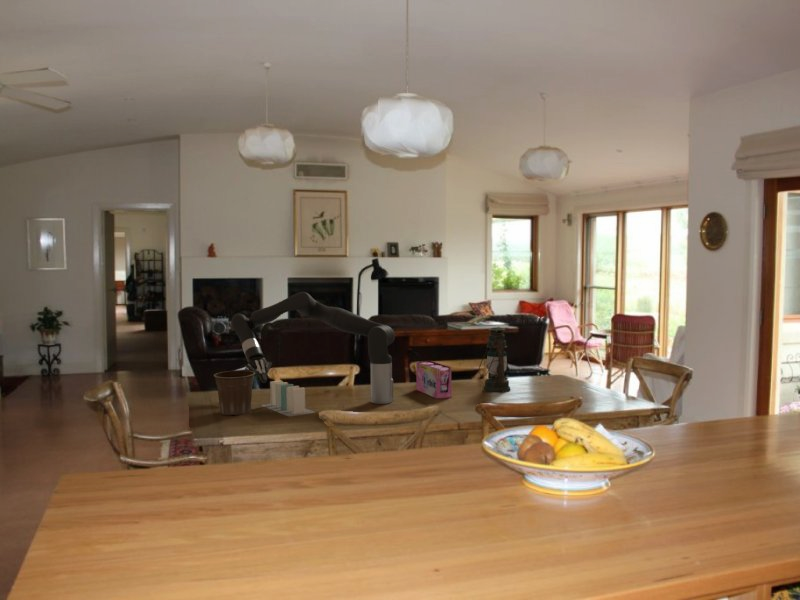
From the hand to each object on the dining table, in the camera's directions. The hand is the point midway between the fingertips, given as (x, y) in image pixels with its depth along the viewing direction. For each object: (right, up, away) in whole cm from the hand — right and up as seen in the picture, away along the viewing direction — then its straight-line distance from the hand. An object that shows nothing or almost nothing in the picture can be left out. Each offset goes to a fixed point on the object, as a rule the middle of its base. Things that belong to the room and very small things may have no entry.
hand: (264, 381), depth 301 cm
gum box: (+75, -7, +15) cm, 77 cm away
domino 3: (+16, -9, -20) cm, 27 cm away
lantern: (+104, -7, +21) cm, 107 cm away
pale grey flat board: (+13, -10, -16) cm, 23 cm away
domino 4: (+19, -10, -24) cm, 32 cm away
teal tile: (+13, -9, -16) cm, 23 cm away
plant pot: (-8, -10, -21) cm, 25 cm away
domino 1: (+7, -9, -8) cm, 14 cm away
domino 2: (+10, -9, -12) cm, 18 cm away
